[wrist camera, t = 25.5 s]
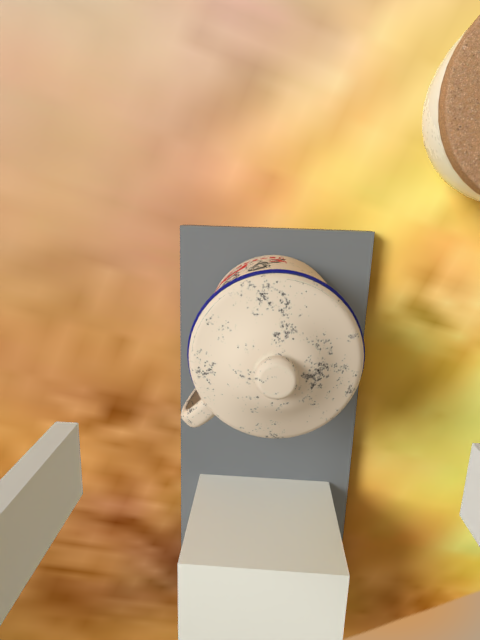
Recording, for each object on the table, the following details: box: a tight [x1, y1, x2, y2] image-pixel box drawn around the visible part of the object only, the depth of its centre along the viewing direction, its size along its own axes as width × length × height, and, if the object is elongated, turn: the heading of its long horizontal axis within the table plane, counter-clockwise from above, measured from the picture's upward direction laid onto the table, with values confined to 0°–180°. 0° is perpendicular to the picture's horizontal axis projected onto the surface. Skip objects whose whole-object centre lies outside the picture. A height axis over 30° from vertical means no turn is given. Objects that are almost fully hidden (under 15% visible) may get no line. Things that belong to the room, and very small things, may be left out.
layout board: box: [180, 225, 375, 548], centre depth 34 cm, size 13×30×1 cm, turn 178°
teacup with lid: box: [181, 255, 365, 438], centre depth 26 cm, size 12×9×12 cm
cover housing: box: [178, 474, 350, 640], centre depth 31 cm, size 10×10×9 cm
